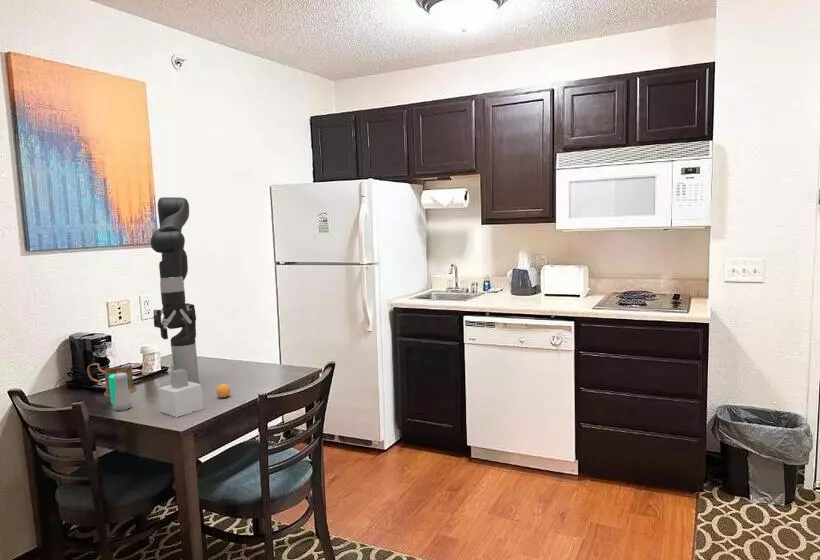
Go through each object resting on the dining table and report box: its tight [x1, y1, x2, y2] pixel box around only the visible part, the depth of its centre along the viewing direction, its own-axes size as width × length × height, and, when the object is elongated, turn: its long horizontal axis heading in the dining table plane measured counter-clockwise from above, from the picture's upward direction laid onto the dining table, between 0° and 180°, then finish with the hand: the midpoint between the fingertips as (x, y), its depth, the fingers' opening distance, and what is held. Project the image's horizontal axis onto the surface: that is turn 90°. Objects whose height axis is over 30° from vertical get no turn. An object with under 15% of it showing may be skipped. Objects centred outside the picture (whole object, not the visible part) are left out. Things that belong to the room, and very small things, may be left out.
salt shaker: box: [113, 373, 133, 411], centre depth 203 cm, size 6×6×13 cm
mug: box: [86, 362, 137, 398], centre depth 224 cm, size 12×18×12 cm, turn 91°
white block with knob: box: [157, 369, 205, 416], centre depth 198 cm, size 10×10×14 cm
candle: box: [109, 373, 128, 406], centre depth 210 cm, size 6×6×12 cm
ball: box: [216, 383, 231, 398], centre depth 212 cm, size 5×5×5 cm
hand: (177, 336), depth 196 cm, fingers open, 8 cm apart
